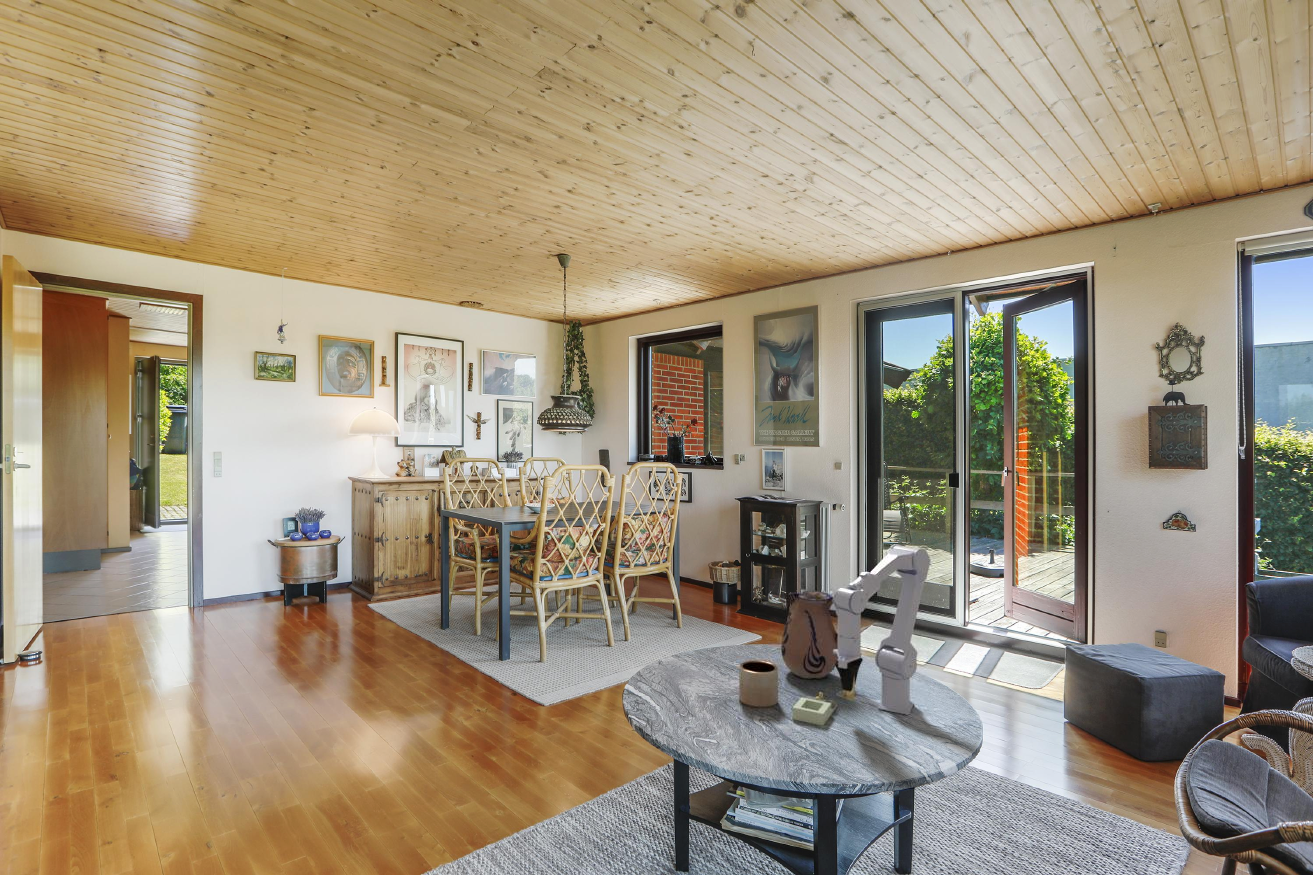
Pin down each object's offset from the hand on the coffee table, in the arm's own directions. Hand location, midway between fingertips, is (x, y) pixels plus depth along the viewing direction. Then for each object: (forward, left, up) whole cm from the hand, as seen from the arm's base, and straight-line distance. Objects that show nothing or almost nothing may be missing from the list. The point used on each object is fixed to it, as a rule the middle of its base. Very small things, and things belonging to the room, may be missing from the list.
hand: (848, 687), depth 165 cm
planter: (-1, -25, -9) cm, 27 cm away
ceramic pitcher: (-30, -17, -9) cm, 36 cm away
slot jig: (-1, -9, -9) cm, 12 cm away
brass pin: (0, 0, -2) cm, 2 cm away
